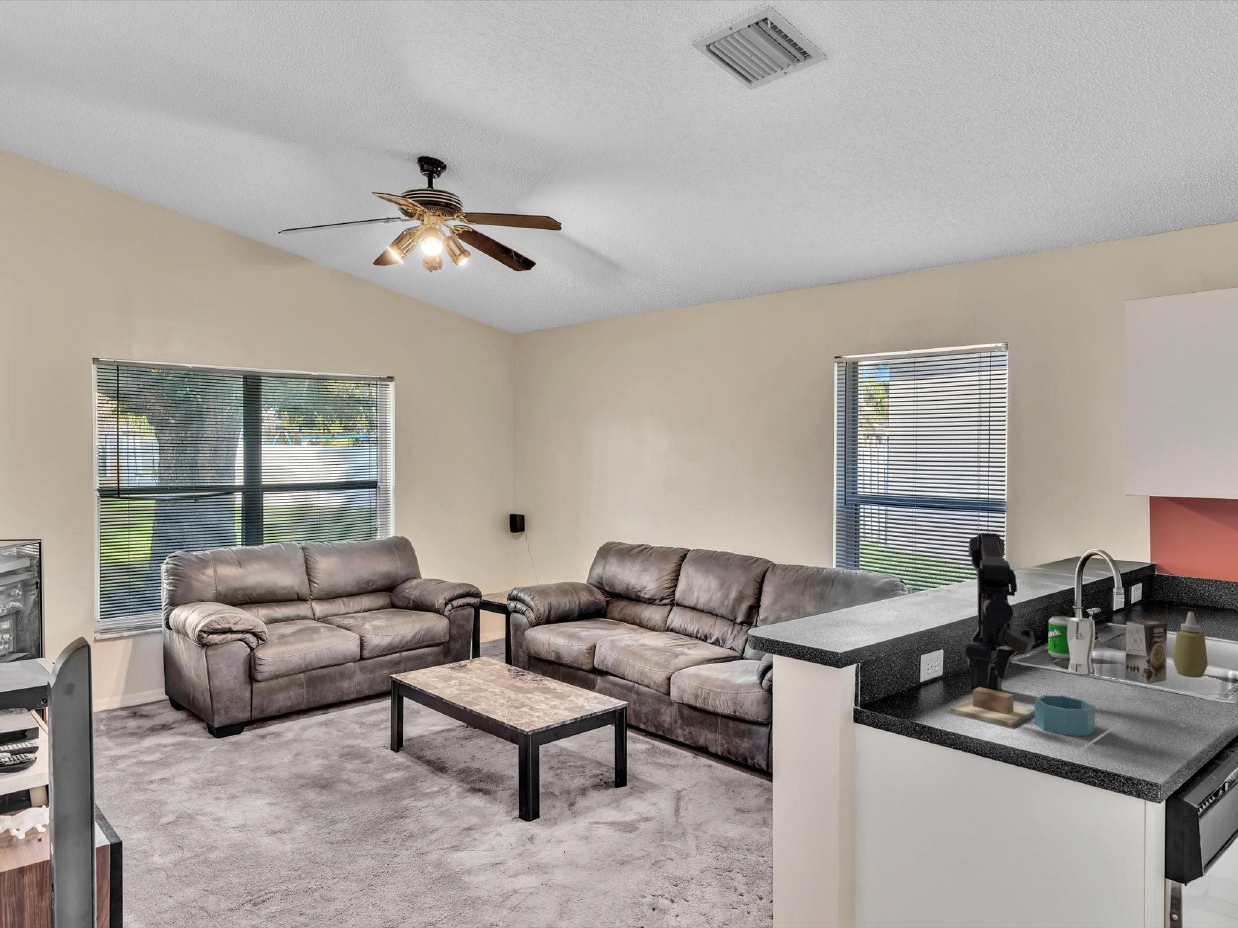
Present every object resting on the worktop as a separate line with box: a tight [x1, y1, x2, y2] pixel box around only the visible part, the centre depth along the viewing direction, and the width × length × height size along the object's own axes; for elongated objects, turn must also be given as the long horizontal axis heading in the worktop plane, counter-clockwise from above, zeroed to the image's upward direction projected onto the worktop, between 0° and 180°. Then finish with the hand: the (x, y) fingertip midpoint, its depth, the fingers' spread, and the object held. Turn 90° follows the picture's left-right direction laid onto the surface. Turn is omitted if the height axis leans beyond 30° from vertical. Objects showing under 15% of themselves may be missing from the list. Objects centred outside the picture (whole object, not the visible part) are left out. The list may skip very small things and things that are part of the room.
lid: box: [950, 687, 1035, 727], centre depth 192 cm, size 14×14×5 cm
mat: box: [945, 708, 1035, 730], centre depth 192 cm, size 16×16×1 cm
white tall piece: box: [1067, 616, 1096, 676], centre depth 232 cm, size 7×7×15 cm
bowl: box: [1034, 694, 1096, 737], centre depth 183 cm, size 11×11×6 cm
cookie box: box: [1124, 619, 1168, 685], centre depth 225 cm, size 9×6×16 cm
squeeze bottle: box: [1172, 611, 1209, 679], centre depth 230 cm, size 8×8×18 cm
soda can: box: [1047, 615, 1070, 660], centre depth 250 cm, size 8×8×12 cm
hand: (993, 681), depth 193 cm, fingers open, 9 cm apart
